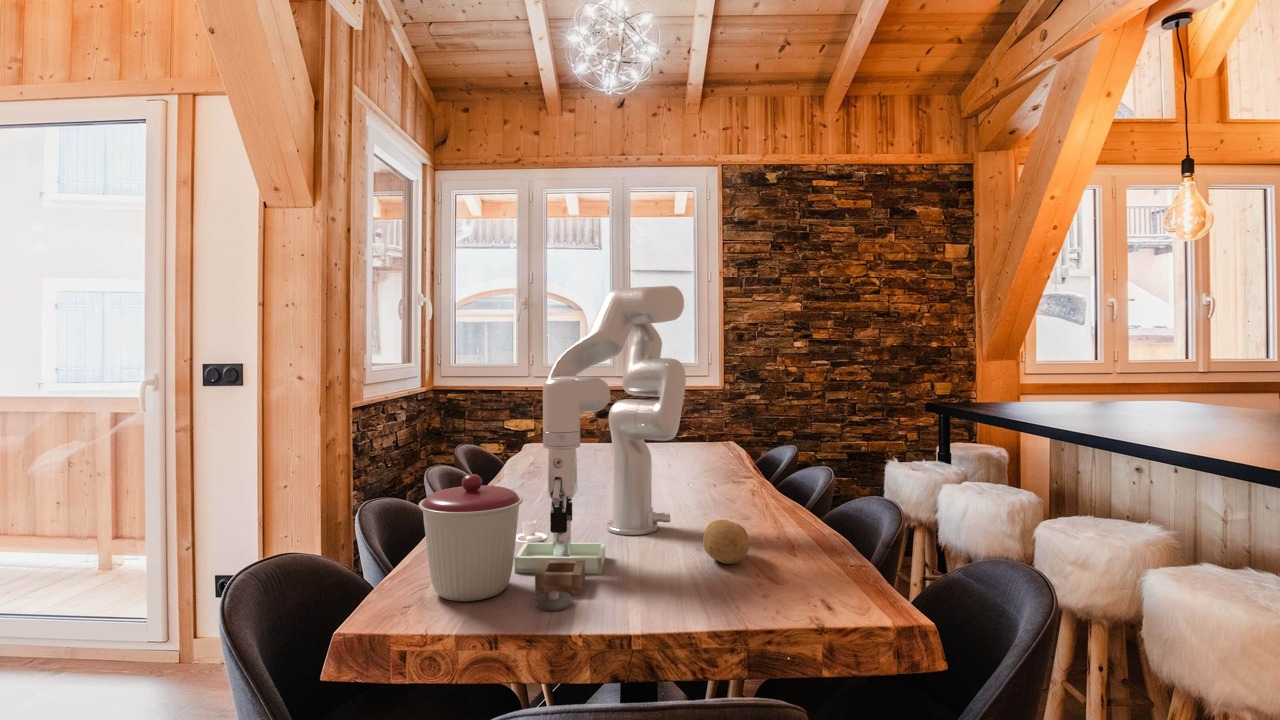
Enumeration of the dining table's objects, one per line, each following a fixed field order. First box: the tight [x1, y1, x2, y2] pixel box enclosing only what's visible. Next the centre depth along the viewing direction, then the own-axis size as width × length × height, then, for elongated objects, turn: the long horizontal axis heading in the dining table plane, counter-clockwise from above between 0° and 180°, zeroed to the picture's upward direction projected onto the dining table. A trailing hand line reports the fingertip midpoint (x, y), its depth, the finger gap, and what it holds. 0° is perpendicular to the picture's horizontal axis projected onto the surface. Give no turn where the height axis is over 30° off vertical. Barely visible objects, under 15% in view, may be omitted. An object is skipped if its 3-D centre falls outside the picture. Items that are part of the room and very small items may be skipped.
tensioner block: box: [534, 560, 586, 613], centre depth 113 cm, size 8×16×4 cm, turn 179°
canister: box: [418, 473, 524, 602], centre depth 114 cm, size 18×18×21 cm
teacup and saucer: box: [515, 519, 548, 544], centre depth 148 cm, size 9×8×4 cm
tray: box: [514, 542, 606, 574], centre depth 129 cm, size 17×10×3 cm, turn 89°
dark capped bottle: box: [552, 515, 572, 557], centre depth 129 cm, size 4×4×9 cm
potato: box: [702, 519, 751, 565], centre depth 131 cm, size 10×14×8 cm
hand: (561, 526), depth 129 cm, fingers open, 7 cm apart
